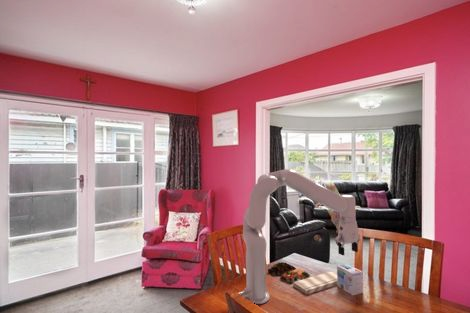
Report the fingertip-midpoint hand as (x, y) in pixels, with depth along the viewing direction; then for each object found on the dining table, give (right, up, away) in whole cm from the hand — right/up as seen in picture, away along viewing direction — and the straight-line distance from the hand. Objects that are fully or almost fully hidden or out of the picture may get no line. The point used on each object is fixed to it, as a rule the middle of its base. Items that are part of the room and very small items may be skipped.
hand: (348, 252), depth 131 cm
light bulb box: (+1, -19, -1) cm, 19 cm away
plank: (-12, -19, +6) cm, 23 cm away
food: (-27, -20, +19) cm, 39 cm away
